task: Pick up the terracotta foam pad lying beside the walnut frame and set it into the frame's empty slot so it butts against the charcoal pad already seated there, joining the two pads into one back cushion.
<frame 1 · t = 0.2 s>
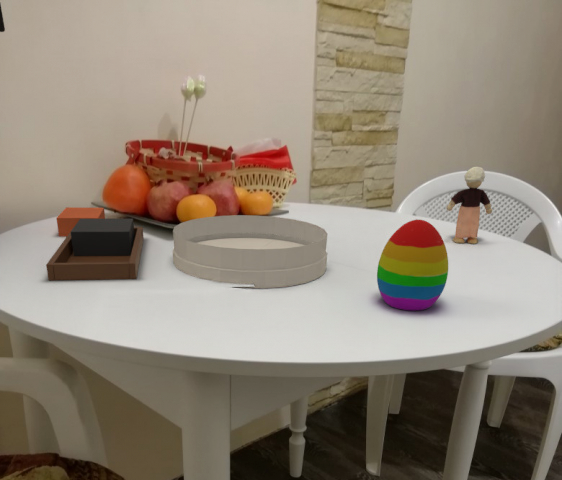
decorative egg: (407, 304, 66), on the table
pad a: (106, 248, 82), resting on pad frame
grandmother figurine: (462, 242, 98), on the table
dish: (250, 266, 79), on the table
pad b: (84, 233, 93), on the table
pad frame: (102, 261, 78), on the table
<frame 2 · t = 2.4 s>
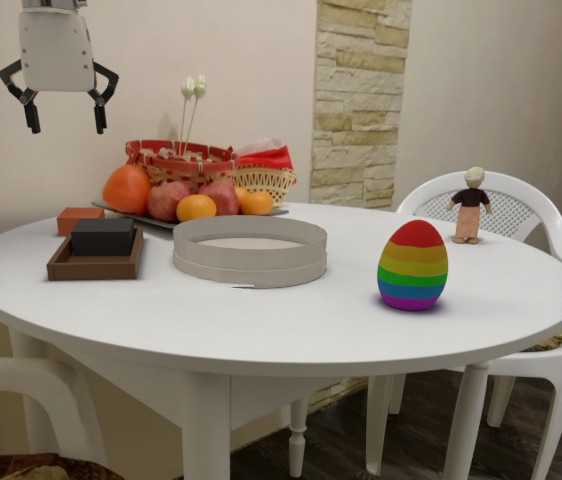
hand: (68, 133, 86), 16 cm above the table, tool pointing down, fingers open, 9 cm apart
nothing on the table moved.
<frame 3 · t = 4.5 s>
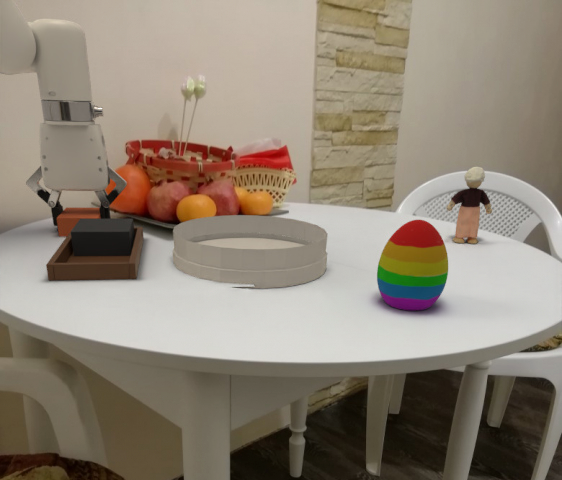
hand: (83, 229, 93), 1 cm above the table, tool pointing down, fingers closed on pad b, 6 cm apart
pad b: (84, 233, 93), on the table, touching gripper
everything else where it was.
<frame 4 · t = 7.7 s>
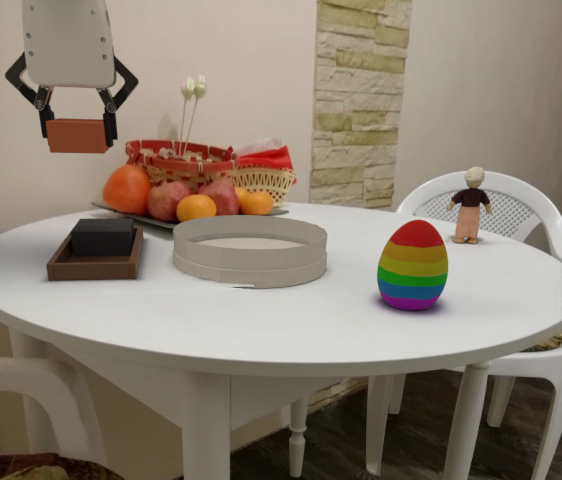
hand: (81, 144, 71), 16 cm above the table, tool pointing down, fingers closed on pad b, 6 cm apart
pad b: (82, 149, 71), point 15 cm above the table, touching gripper
everything else where it was.
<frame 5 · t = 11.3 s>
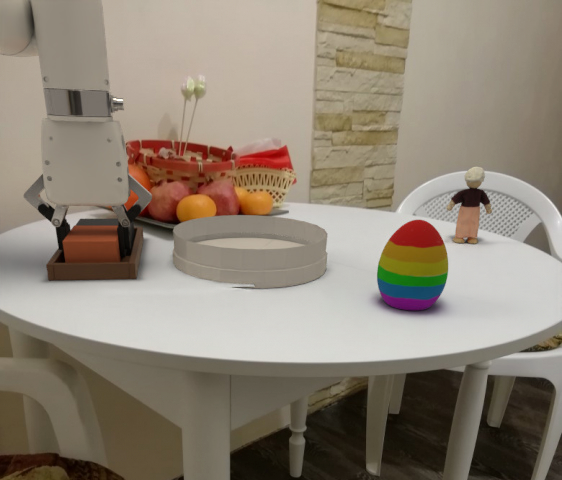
hand: (96, 253, 73), 2 cm above the table, tool pointing down, fingers closed on pad b, 6 cm apart
pad b: (96, 258, 74), point 2 cm above the table, touching gripper
everything else where it was.
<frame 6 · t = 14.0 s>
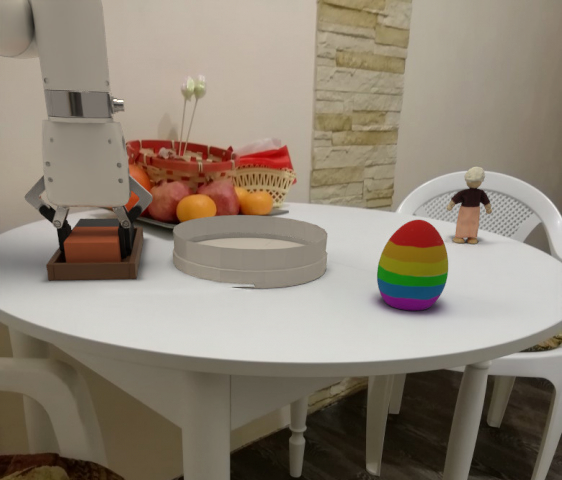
hand: (97, 255, 73), 2 cm above the table, tool pointing down, fingers closed on pad b, 6 cm apart
pad b: (97, 260, 74), point 1 cm above the table, touching gripper
everything else where it was.
when the fingers open (3 cm above the table, at t = 16.4 s): pad b stays where it is, resting on pad frame.
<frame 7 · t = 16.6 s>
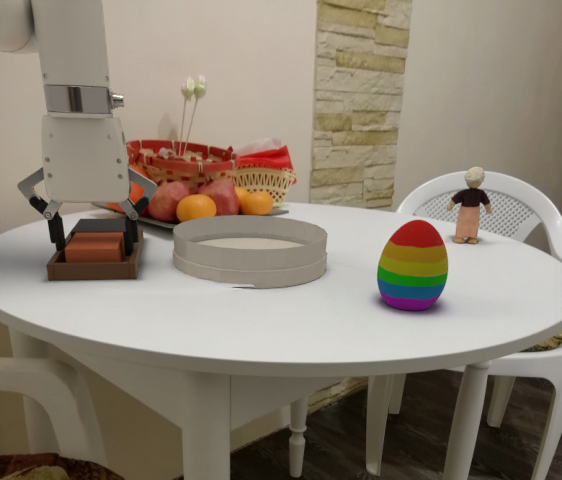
hand: (96, 247, 73), 3 cm above the table, tool pointing down, fingers open, 8 cm apart
pad b: (98, 265, 74), point 1 cm above the table, touching pad frame
everything else where it was.
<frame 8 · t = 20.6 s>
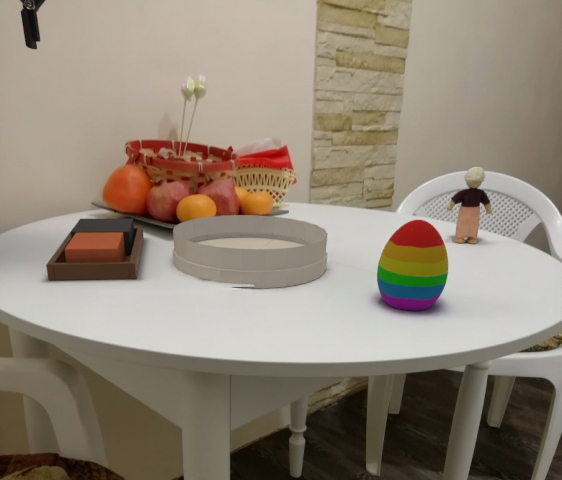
nothing on the table moved.
at the end: pad b 0.2 cm from the target spot in the pad frame, point 0.6 cm above the pad frame's base; pad b 9.7 cm from the pad a (horizontally); pad b tilted 0° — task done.
